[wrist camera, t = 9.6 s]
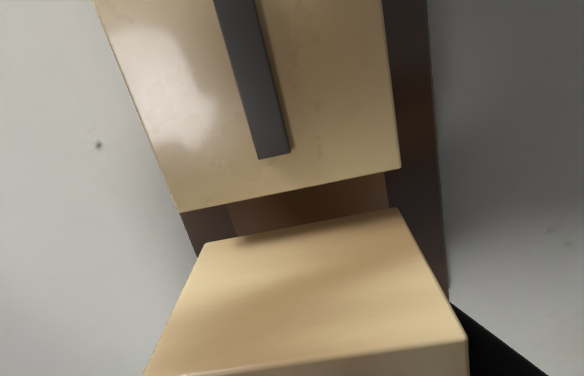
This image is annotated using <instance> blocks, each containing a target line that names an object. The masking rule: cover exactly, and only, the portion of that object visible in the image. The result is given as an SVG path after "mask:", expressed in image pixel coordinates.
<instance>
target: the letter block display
mask: <svg viewBox="0 0 584 376" xmlns="http://www.w3.org/2000/svg"><path fill="white" fill-rule="evenodd" d="M92 1H93V4H94V6H95V9H96V11H97V14H98V16H99V18H100V21H101V23H102V26H103V28H104V31H105V33H106V36H107V38H108V41H109V43H110V46H111V48H112V51H113V53H114V56H115V58H116V60H117V63H118V65H119V68H120V70H121V73H122V75H123V78H124V80H125V83H126V85H127V88H128V90H129V93H130V95H131V97H132V100H133V102H134V105H135V107H136V110H137V112H138V115H139V117H140V120H141V122H142V125H143V127H144V130H145V132H146V134H147V137H148V139H149V142H150V144H151V147H152V149H153V152H154V154H155V157H156V159H157V162H158V164H159V167H160V169H161V172H162V174H163V176H164V179H165V181H166V184H167V186H168V189H169V191H170V194H171V196H172V199H173V201H174V204H175V206H176V209H177V211H178V212H179V213H180V216H181V218H182V221H183V223H184V226H185V228H186V231H187V233H188V236H189V238H190V240H191V243H192V245H193V248H194V250H195V253H196V255H197V258H198V256H199V254H200V252H201V250H202V248H203V246H204V244H206V243H208V242H214V241H219V240H224V239H229V238H235V237H240V236H245V235H251V234H256V233H261V232H266V231H272V230H277V229H282V228H288V227H293V226H298V225H303V224H309V223H314V222H319V221H325V220H330V219H335V218H341V217H346V216H351V215H356V214H362V213H367V212H372V211H378V210H383V209H388V208H393V207H396V208H398V209H399V211H400V213H401V215H402V217H403V218H404V220H405V222H406V224H407V226H408V228H409V229H410V231H411V233H412V235H413V237H414V239H415V240H416V242H417V244H418V246H419V248H420V250H421V252H422V253H423V255H424V257H425V259H426V261H427V263H428V264H429V266H430V268H431V270H432V272H433V274H434V275H435V277H436V279H437V281H438V283H439V285H440V286H441V288H442V290H443V292H444V294H445V296H446V297H447V299H448V301H449V291H448V277H447V264H446V251H445V238H444V224H443V211H442V198H441V185H440V172H439V158H438V145H437V132H436V119H435V105H434V92H433V79H432V66H431V52H430V39H429V26H428V13H427V0H92Z"/></svg>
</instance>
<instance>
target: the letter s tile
mask: <svg viewBox="0 0 584 376" xmlns="http://www.w3.org/2000/svg"><path fill="white" fill-rule="evenodd" d="M142 376H470V369H469V349H468V336H467V334H466V332H465V331H464V329H463V327H462V325H461V323H460V321H459V320H458V318H457V316H456V314H455V312H454V310H453V308H452V307H451V305H450V303H449V301H448V299H447V297H446V296H445V294H444V292H443V290H442V288H441V286H440V285H439V283H438V281H437V279H436V277H435V275H434V274H433V272H432V270H431V268H430V266H429V264H428V263H427V261H426V259H425V257H424V255H423V253H422V252H421V250H420V248H419V246H418V244H417V242H416V240H415V239H414V237H413V235H412V233H411V231H410V229H409V228H408V226H407V224H406V222H405V220H404V218H403V217H402V215H401V213H400V211H399V209H398V208H396V207H393V208H388V209H383V210H378V211H372V212H367V213H362V214H356V215H351V216H346V217H341V218H335V219H330V220H325V221H319V222H314V223H309V224H303V225H298V226H293V227H288V228H282V229H277V230H272V231H266V232H261V233H256V234H251V235H245V236H240V237H235V238H229V239H224V240H219V241H214V242H208V243H206V244H204V246H203V248H202V250H201V252H200V254H199V256H198V259H197V261H196V263H195V265H194V267H193V269H192V271H191V273H190V275H189V278H188V280H187V282H186V284H185V286H184V288H183V290H182V292H181V294H180V297H179V299H178V301H177V303H176V305H175V307H174V309H173V311H172V313H171V315H170V318H169V320H168V322H167V324H166V326H165V328H164V330H163V332H162V334H161V337H160V339H159V341H158V343H157V345H156V347H155V349H154V351H153V353H152V355H151V358H150V360H149V362H148V364H147V366H146V368H145V370H144V372H143V374H142Z"/></svg>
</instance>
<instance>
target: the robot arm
mask: <svg viewBox="0 0 584 376" xmlns="http://www.w3.org/2000/svg"><path fill="white" fill-rule="evenodd" d="M449 303H450V305H451V307H452V308H453V310H454V312H455V314H456V316H457V318H458V320H459V321H460V323H461V325H462V327H463V329H464V331H465V332H466V334H467V336H468V349H469V369H470V376H548V375H547V374H545V373H544V372H543V371H541V370H540V369H539V368H537V367H536V366H535V365H533V364H532V363H531V362H529V361H528V360H527V359H525V358H524V357H523V356H521V355H520V354H519V353H517V352H516V351H515V350H513V349H512V348H511V347H509V346H508V345H507V344H505V343H504V342H503V341H501V340H500V339H499V338H497V337H496V336H495V335H493V334H492V333H491V332H489V331H488V330H487V329H485V328H484V327H483V326H481V325H480V324H479V323H477V322H476V321H475V320H473V319H472V318H471V317H469V316H468V315H467V314H465V313H464V312H463V311H461V310H460V309H459V308H457V307H456V306H455V305H453V304H452V303H451V302H449Z"/></svg>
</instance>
